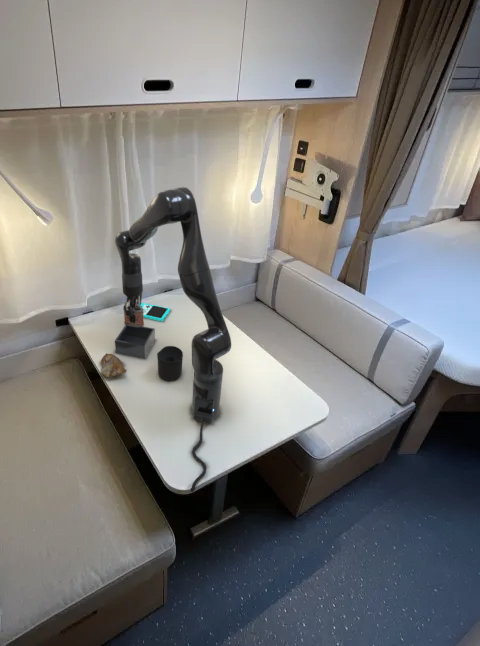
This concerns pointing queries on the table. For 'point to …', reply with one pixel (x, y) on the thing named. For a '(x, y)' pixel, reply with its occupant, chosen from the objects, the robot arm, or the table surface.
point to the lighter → (138, 317)
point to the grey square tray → (135, 341)
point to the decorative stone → (111, 365)
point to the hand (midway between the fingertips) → (134, 319)
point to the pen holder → (170, 363)
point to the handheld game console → (154, 312)
